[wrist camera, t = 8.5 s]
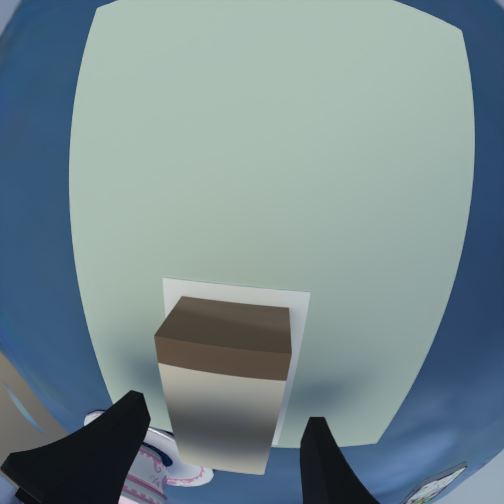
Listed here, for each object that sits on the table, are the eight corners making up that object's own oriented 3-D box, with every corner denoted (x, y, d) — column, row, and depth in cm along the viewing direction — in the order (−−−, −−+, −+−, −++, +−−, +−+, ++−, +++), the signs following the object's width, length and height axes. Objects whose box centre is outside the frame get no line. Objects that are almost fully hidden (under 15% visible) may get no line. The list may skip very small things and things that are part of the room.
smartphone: (390, 514, 21) (421, 485, 16) (389, 509, 22) (419, 479, 17) (431, 500, 20) (470, 463, 15) (429, 495, 21) (467, 458, 16)
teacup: (64, 397, 16) (29, 443, 10) (186, 418, 14) (158, 496, 9) (125, 469, 19) (107, 509, 13) (230, 487, 18) (221, 538, 12)
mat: (457, 32, 6) (462, 29, 6) (375, 438, 14) (376, 444, 13) (101, 10, 8) (96, 7, 7) (120, 412, 15) (117, 417, 14)
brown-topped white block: (266, 434, 13) (263, 474, 10) (193, 424, 14) (181, 462, 11) (289, 307, 11) (291, 353, 8) (181, 295, 11) (153, 335, 8)
